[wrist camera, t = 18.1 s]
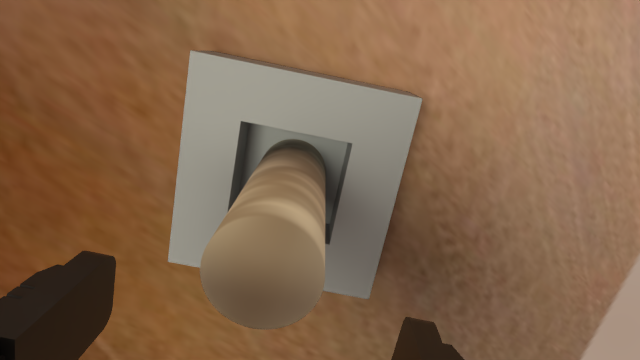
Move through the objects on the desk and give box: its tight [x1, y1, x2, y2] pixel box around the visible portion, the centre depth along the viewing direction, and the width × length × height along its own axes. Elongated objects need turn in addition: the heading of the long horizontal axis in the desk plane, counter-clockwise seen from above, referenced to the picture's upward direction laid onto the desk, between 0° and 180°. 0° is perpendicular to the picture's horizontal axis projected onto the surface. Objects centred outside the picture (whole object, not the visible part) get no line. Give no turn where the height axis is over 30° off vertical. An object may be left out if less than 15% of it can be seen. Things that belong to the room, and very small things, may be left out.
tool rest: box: [168, 50, 422, 299], centre depth 25 cm, size 12×12×4 cm
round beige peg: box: [200, 139, 326, 329], centre depth 20 cm, size 4×4×13 cm
